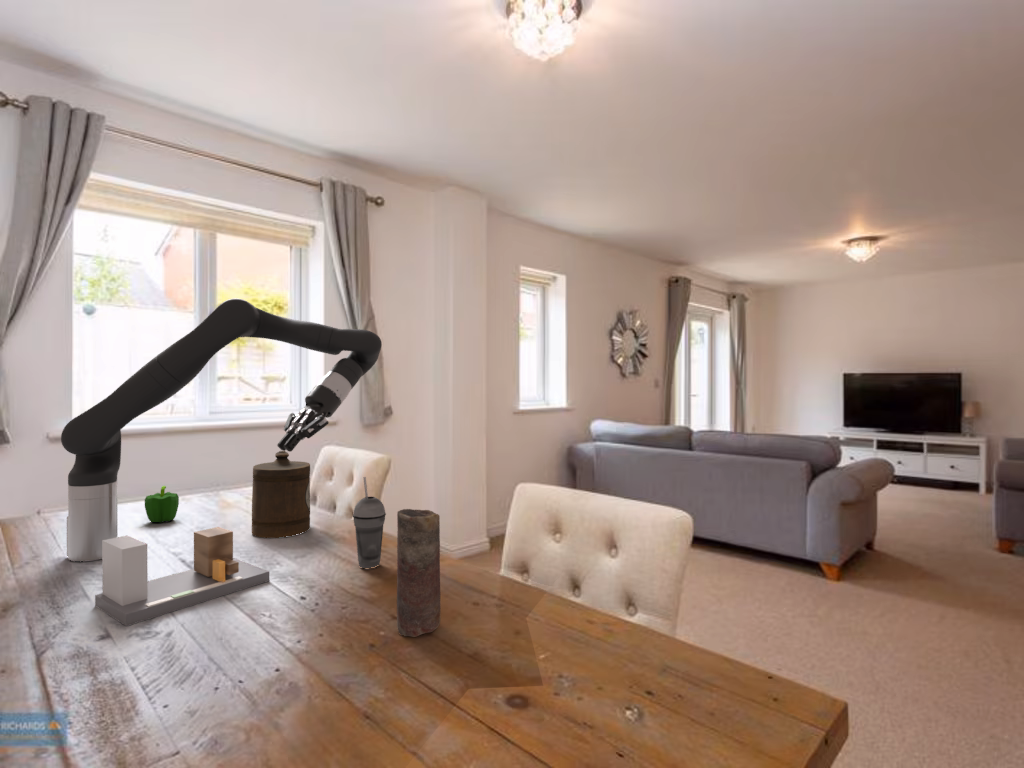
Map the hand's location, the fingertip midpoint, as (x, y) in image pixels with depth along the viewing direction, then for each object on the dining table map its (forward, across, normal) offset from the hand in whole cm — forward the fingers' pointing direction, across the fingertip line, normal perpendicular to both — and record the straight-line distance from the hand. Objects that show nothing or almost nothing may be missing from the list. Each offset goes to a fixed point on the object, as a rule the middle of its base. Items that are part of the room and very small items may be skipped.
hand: (283, 448), depth 128 cm
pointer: (+29, +7, +4) cm, 30 cm away
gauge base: (+34, +2, +3) cm, 34 cm away
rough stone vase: (+23, +50, +14) cm, 56 cm away
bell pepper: (+19, -60, +18) cm, 65 cm away
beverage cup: (+12, +18, +25) cm, 33 cm away
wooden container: (+9, -23, +28) cm, 38 cm away
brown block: (+28, +2, +5) cm, 29 cm away
